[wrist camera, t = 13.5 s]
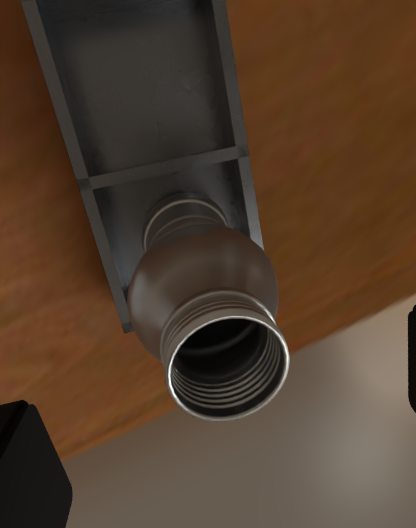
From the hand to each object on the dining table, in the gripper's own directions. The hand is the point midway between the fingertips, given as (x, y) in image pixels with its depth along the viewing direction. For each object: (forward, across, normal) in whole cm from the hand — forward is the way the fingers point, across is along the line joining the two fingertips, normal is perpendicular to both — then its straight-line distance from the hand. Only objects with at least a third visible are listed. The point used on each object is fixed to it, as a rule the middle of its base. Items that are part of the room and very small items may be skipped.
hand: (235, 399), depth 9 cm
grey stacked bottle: (+22, 0, 0) cm, 22 cm away
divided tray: (+22, +1, -5) cm, 23 cm away
